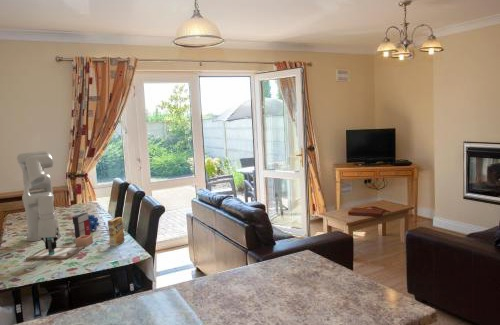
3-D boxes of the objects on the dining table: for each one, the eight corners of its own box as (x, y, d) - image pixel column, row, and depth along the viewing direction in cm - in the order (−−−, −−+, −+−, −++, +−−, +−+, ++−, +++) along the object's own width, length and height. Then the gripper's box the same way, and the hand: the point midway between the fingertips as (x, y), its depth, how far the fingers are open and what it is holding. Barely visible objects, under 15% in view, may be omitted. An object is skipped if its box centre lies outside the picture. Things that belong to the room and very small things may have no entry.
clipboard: (26, 260, 210) (25, 256, 210) (46, 248, 228) (46, 245, 228) (66, 259, 207) (66, 255, 207) (84, 248, 225) (84, 244, 225)
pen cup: (76, 246, 229) (75, 239, 229) (82, 242, 236) (81, 235, 236) (87, 246, 229) (86, 238, 228) (93, 242, 235) (92, 235, 235)
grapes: (84, 234, 255) (82, 216, 254) (81, 232, 260) (79, 215, 259) (101, 230, 263) (100, 213, 261) (98, 228, 268) (96, 211, 266)
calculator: (80, 240, 241) (78, 217, 240) (74, 240, 242) (72, 217, 241) (91, 235, 252) (88, 212, 250) (85, 234, 253) (83, 212, 251)
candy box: (115, 246, 225) (113, 221, 224) (109, 245, 227) (107, 220, 225) (124, 241, 234) (122, 217, 232) (119, 241, 235) (116, 216, 233)
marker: (47, 254, 212) (45, 237, 211) (51, 253, 215) (48, 235, 214) (52, 254, 212) (50, 237, 211) (55, 252, 215) (53, 235, 214)
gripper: (29, 218, 208) (33, 251, 210) (56, 218, 206) (60, 250, 208) (38, 215, 216) (42, 246, 218) (65, 214, 214) (68, 246, 216)
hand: (51, 248), depth 213 cm, fingers closed on marker, 3 cm apart
